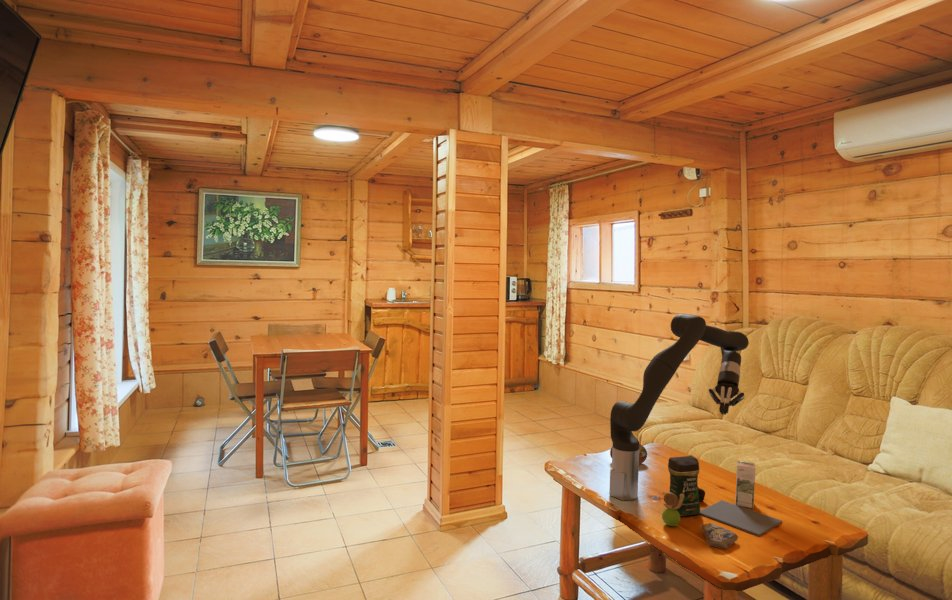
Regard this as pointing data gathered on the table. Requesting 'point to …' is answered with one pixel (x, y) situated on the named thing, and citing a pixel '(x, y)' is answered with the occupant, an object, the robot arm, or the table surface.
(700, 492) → the hand tool
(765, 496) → the table surface
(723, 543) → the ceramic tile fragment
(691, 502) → the coffee jar
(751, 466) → the syrup box
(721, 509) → the charcoal mat
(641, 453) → the tin
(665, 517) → the snail figurine
